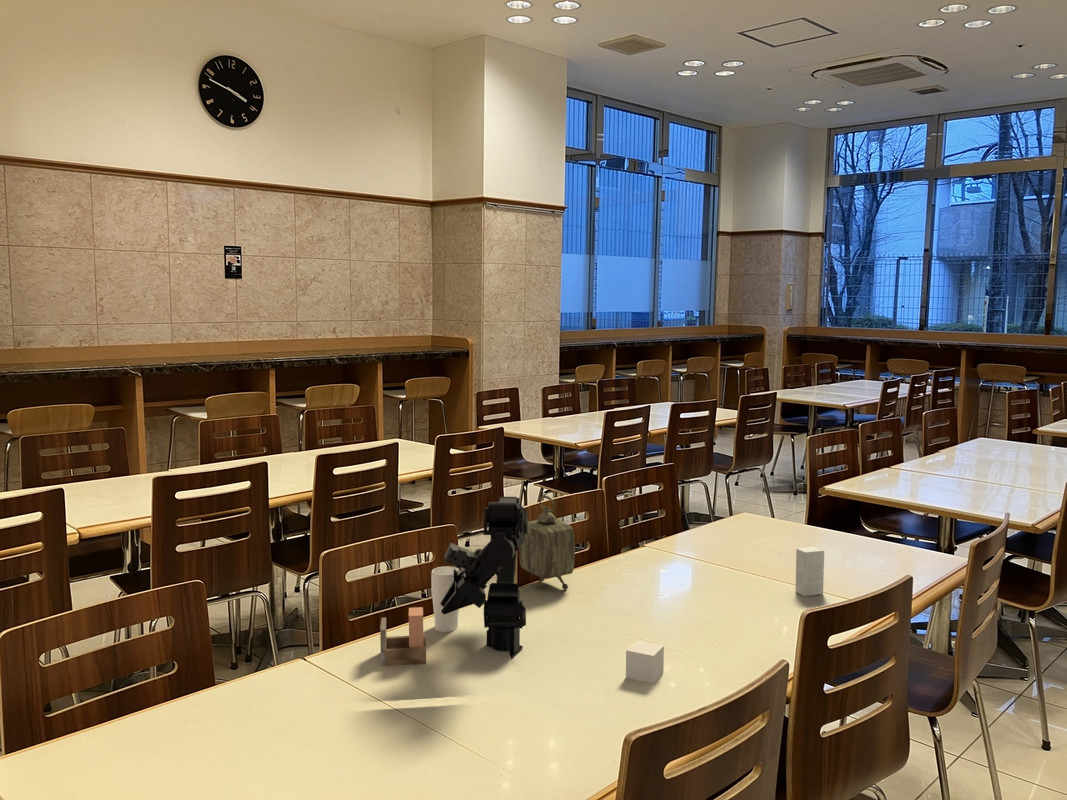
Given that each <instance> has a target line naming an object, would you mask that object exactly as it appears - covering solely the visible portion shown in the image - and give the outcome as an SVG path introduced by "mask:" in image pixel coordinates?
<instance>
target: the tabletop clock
mask: <svg viewBox="0 0 1067 800" xmlns="http://www.w3.org/2000/svg"><path fill="white" fill-rule="evenodd" d="M543 499H547V500H549V501H550V502H551V503H552V508H551V509H550V507H549V506H548V505H546V506H543V505H542V500H543ZM538 503H539V506H540V507H539V508H541V509H542V510H543V511H544V512H541V513H540V514H539V515H538V517H537V519H535V520H531V521H528V533H527V534H525V538H524V543H523V544H522V545H521V546H520V547H519V548H518V551H519V552H518V554H519V563H520V567H521V568H522V569H523V570H525V571H527V572H528V573H530V574H531V575H534V576H537V577H539V581H538V582H537V583H536V587H537V588H538V587H539V589H541V588H542V587H543V585H544V584H543V583H542V581H543V580H544V579H546V580H548V579H552V578H556V579H558V580H559V581H560V582H561V588H562V589H563V590H565V591H566V590H568V588H569V585H568V584H567V583H565V582H564V580H563V578H562V576H567V575H571V574H573V572H574V568H575V560H576V559H575V557H576V547H575V546H576V543H575V533H574V528H573V527H572V526H571V525H570V524H568V522H567V523H566V522H565V521H562V520H561V519H557V517H556V515H554V514H553V513H552V512H553V511H554V510H555V507H556V505H555V502H554V500H553V498H551V497H550V496H548V495H542V496H541V497H540V498H539V500H538Z"/></svg>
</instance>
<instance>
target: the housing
mask: <svg viewBox="0 0 1067 800" xmlns="http://www.w3.org/2000/svg"><path fill="white" fill-rule="evenodd" d="M380 620H381V621H380V630H379V631H380V632H379V633H380V634H379V635H380V639H379V641H380V666H385V667H389V666H390V667H391V666H393V667H394V666H406V665H409V666H411V665H423V664H424V665H427V645H426V640H427V639H426V634H423V647H417V648H409V635H397V636H387V617H381V619H380Z"/></svg>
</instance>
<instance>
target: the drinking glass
mask: <svg viewBox="0 0 1067 800" xmlns="http://www.w3.org/2000/svg"><path fill="white" fill-rule="evenodd" d="M459 569H460V568H459V567H458V568H456V567H455V566H450V565H449V566H448V565H447V566H438V567H435V568H433V569H432V570H431V578H430V579H431V585H430V586H431V596H432V597H431V598H432V606H433V615H434V616H433V617H434V629H435V630H436V631H437V632H441V633H442V632H444V633H450V632H454V631H456V630H457V629H458V627H459V612H460V611H459V610H460V609H458V610H455V611H453V612H450V613H448V614H445V615H444V614H443V613H442V612H441V610H442V608H443V606H442V605H441V604H440V603H441V601H442V599H443V598H444V596H445V594H446V593H447V591H448V590H449V588H450V586H451V584H452V583H453V580H454V574H453V570H456V571H458V570H459Z"/></svg>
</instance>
